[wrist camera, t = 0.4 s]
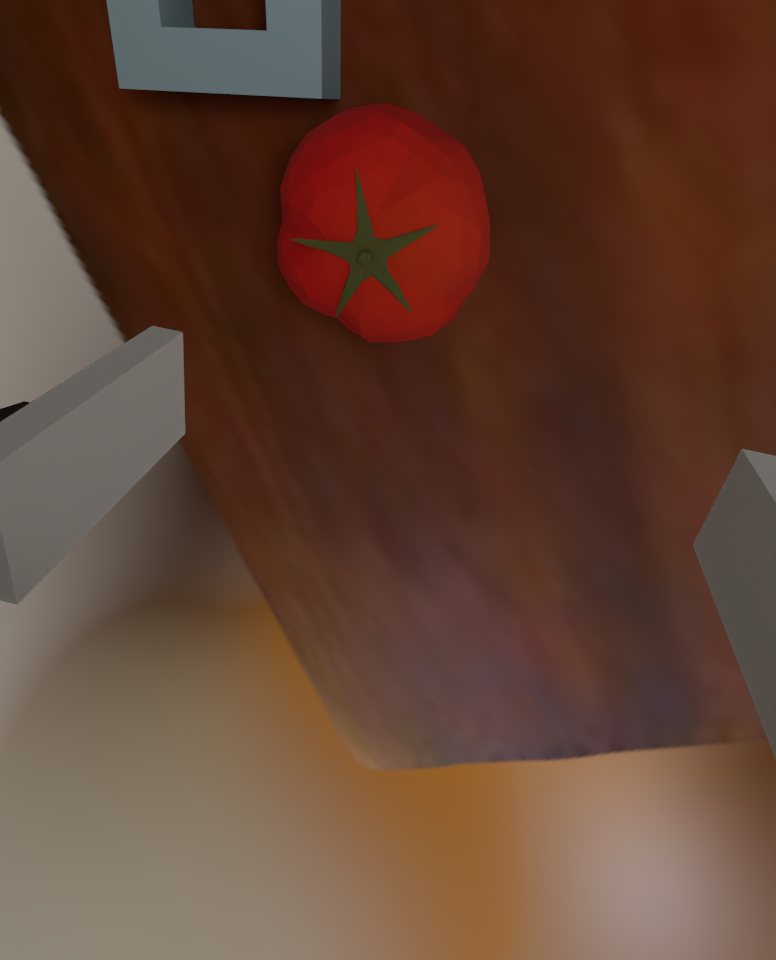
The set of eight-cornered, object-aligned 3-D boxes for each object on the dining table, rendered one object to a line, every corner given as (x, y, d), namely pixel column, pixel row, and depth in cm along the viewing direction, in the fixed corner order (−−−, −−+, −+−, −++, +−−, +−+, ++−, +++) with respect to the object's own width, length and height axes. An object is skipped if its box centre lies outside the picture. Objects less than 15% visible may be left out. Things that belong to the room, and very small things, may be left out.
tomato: (269, 160, 38) (195, 177, 29) (448, 62, 34) (424, 48, 25) (356, 342, 43) (315, 403, 34) (522, 274, 39) (523, 324, 30)
